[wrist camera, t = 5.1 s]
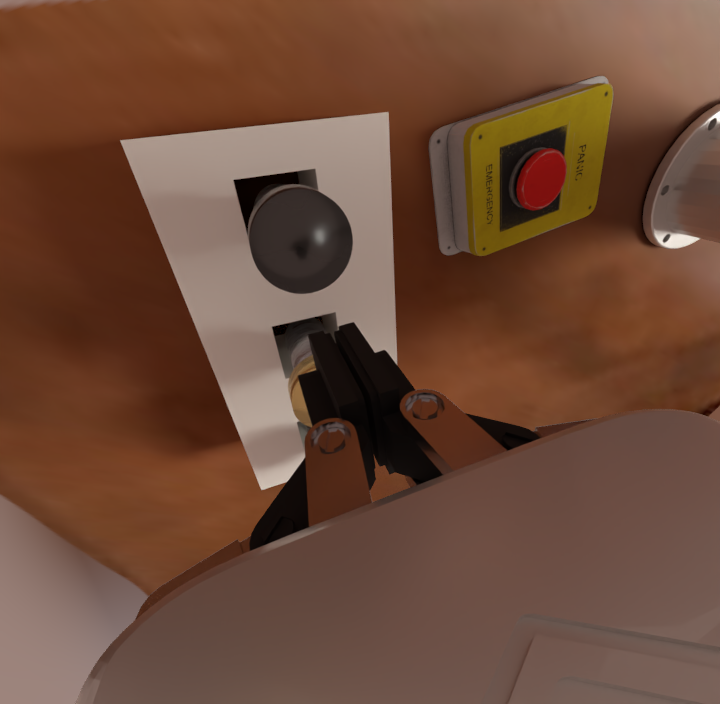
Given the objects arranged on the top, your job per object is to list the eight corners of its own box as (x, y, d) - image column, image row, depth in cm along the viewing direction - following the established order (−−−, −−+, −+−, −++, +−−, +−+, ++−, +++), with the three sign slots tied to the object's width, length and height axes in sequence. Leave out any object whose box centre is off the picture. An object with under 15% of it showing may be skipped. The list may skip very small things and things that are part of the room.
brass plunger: (329, 302, 23) (364, 358, 17) (337, 352, 25) (370, 416, 20) (269, 316, 22) (284, 379, 17) (282, 366, 24) (300, 437, 19)
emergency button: (457, 131, 21) (663, 64, 23) (423, 131, 24) (603, 72, 26) (466, 274, 26) (631, 209, 28) (437, 257, 30) (585, 201, 32)
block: (352, 115, 22) (388, 111, 17) (375, 401, 35) (399, 444, 30) (145, 137, 19) (119, 140, 14) (255, 437, 33) (261, 490, 28)
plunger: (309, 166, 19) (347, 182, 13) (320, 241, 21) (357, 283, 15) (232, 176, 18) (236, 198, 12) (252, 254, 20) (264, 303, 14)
